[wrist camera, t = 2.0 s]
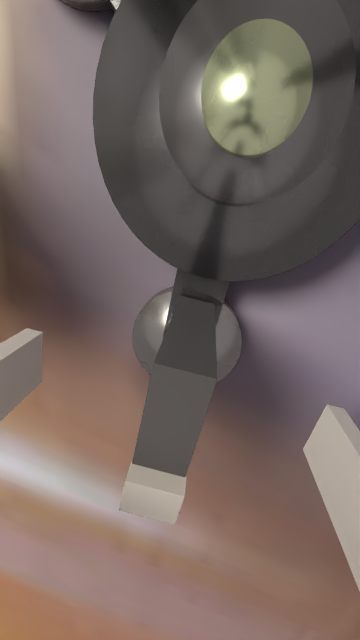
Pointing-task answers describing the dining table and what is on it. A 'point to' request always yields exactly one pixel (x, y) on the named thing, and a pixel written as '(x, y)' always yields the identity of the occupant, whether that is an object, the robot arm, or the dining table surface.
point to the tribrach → (228, 142)
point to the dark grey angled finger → (173, 413)
